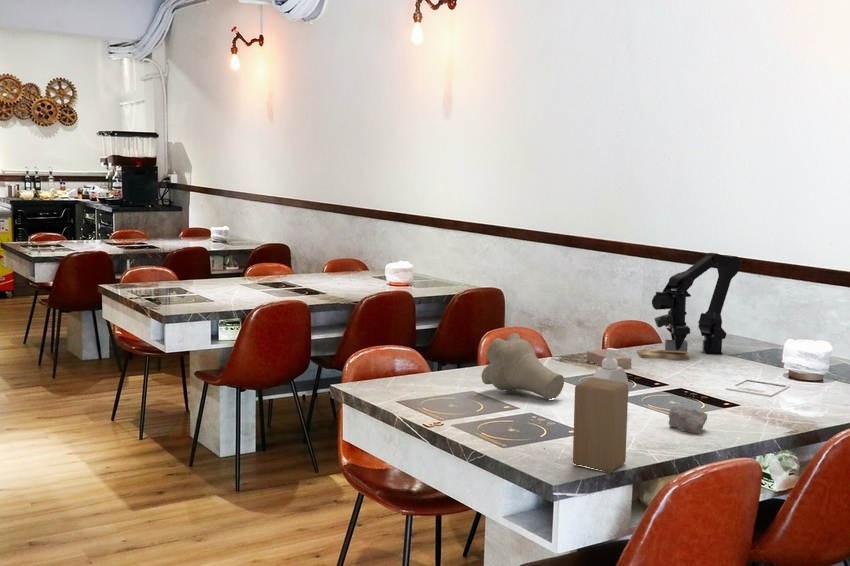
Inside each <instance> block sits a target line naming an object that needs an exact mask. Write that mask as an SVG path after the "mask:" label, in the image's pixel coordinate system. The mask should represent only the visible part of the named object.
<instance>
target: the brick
mask: <svg viewBox="0 0 850 566" xmlns="http://www.w3.org/2000/svg"><path fill="white" fill-rule="evenodd" d="M606 353H607V349H602V348H601V349H599V348H598V349H594V350H589V351H588V350H587V351H586V362H587V361H589V362H593V363H595V364H598V365H601V366H600V367H602V361H603V359H604V358H606ZM616 353H617V352H614V359H616V360H617V362H618V367H622V368H623V370H630V369H629V368H631V369H632V357H630V356H626V355H622V354H616ZM589 362H588V363H589ZM595 364H594V365H595ZM598 365H597V366H598Z"/></svg>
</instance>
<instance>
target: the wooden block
mask: <svg viewBox="0 0 850 566" xmlns="http://www.w3.org/2000/svg"><path fill="white" fill-rule="evenodd" d="M628 389H629V383H628V384H626V383H624V382H617V381H611V380H604V379H597V378H592V377H591V378H589V379H587V380H584V381H582V382H580V383H577V384H576V385H575V386H574V407H573V409H574V413H573V439H572V440H573V441H572V443H573V444H572V464H573V463H574V464H576V465H582V466H587V467H590V468H594V469H598V470H602V471H605V472H604V473H607V472H610V473H612V472H614V471H615V470H617V469H618V468H620V467H621V466H623V465H624V464H625V463H626V460H627V459H626V458H627V455H626V454H627V434H628V432H627V429H628V408H629V407H628V403H629V400H628V399H629V393H628ZM622 464H623V465H622ZM619 466H620V467H619ZM617 467H618V468H617ZM616 468H617V469H616ZM613 470H614V471H613ZM602 471H601V472H602Z"/></svg>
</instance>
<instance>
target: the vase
mask: <svg viewBox="0 0 850 566" xmlns="http://www.w3.org/2000/svg"><path fill="white" fill-rule="evenodd" d="M485 357H486V359H487V360H488V361H489V364H487V365H486V366H485V368H483V370H482V371H481V380H482V383H483V384H484V385H492V386H494V388H496V389H497V390H499V391H503V390H506V391H505V392H513V391H512V390H514V391H528V392H532V394H536V395H538V396H540V397H543V398H544V399H545V400H547V401H548V400H549V399H552V398H556V397H559V396H560V394H561V392H562V391H563V388H564V385H565V378H564V376H563V375H562V374H561V373H560V374H559V373H558V372H555V371H553V370H552V369H550V368H548V367H546V365H544V364H543V363H542V362H541V361H540V360H539V358H538V357H537V354H536V352H535V349H534V347H533V346H532V345H531V343H530V342H528V341H527V340H525V339H523V338H521V336H520V335H519V334H518V333H516V332H514V333H511V334H509V335H508V336H507V337H506V340H505V339H502V338H500V337H496V338H495V339H494V340H493V341H492V342H491V343H490V344H489V346H488V348H487V349H486V353H485ZM556 399H557V398H556Z"/></svg>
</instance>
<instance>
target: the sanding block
mask: <svg viewBox="0 0 850 566" xmlns="http://www.w3.org/2000/svg"><path fill="white" fill-rule="evenodd" d="M688 344H689V343H688V341H687V340H685V339H684V341H683V343H682V345H681V347H680V349H679V350H676V345H675V340H672V339H665V340H664V350H665V351H666V352H676V353H687V354H688Z"/></svg>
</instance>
